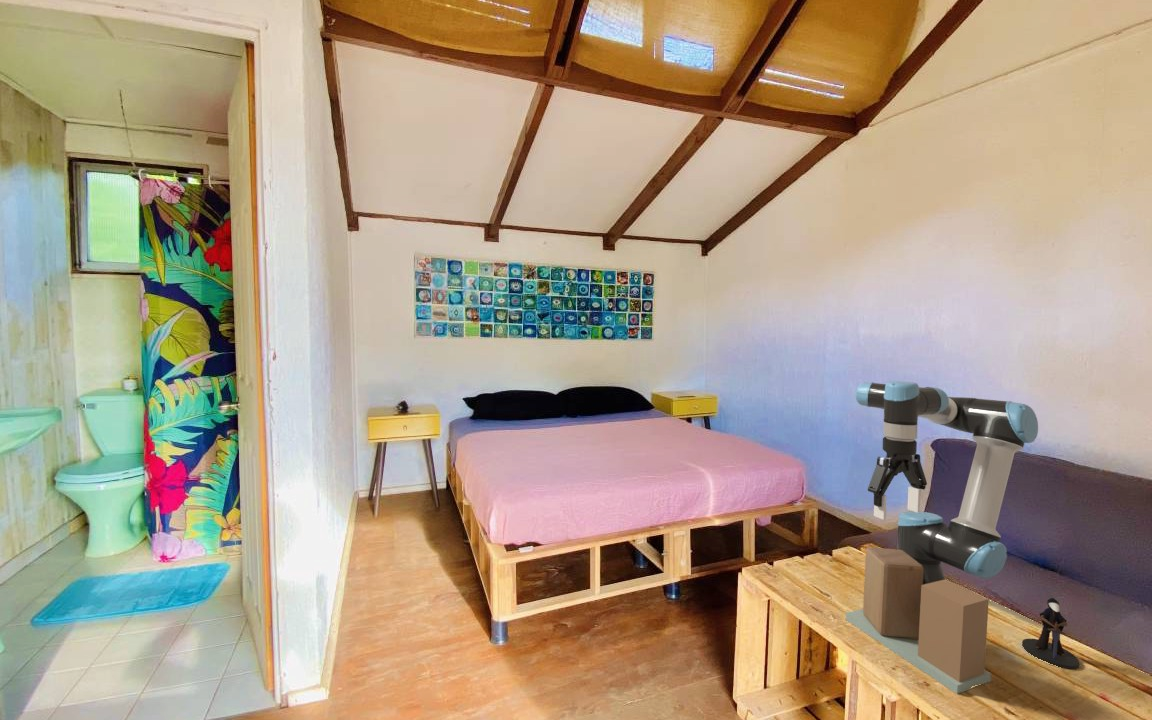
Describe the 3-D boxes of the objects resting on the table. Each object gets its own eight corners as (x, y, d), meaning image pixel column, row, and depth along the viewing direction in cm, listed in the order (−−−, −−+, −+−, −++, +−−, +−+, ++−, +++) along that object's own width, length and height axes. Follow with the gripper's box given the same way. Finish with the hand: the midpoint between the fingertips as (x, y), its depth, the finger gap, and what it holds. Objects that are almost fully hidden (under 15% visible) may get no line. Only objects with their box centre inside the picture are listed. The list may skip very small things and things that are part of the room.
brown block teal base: (875, 612, 131) (878, 545, 130) (990, 681, 104) (995, 599, 103) (845, 619, 127) (848, 551, 126) (956, 694, 100) (961, 608, 99)
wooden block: (921, 641, 115) (925, 566, 114) (880, 636, 116) (883, 562, 115) (899, 617, 125) (902, 548, 124) (861, 613, 126) (864, 545, 125)
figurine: (1027, 658, 112) (1031, 600, 112) (1017, 636, 121) (1021, 583, 120) (1086, 675, 107) (1090, 615, 106) (1071, 652, 115) (1075, 596, 114)
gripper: (915, 432, 128) (912, 503, 129) (853, 438, 120) (851, 515, 121) (944, 437, 121) (941, 513, 122) (881, 445, 113) (878, 526, 114)
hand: (896, 514), depth 122 cm, fingers open, 13 cm apart
